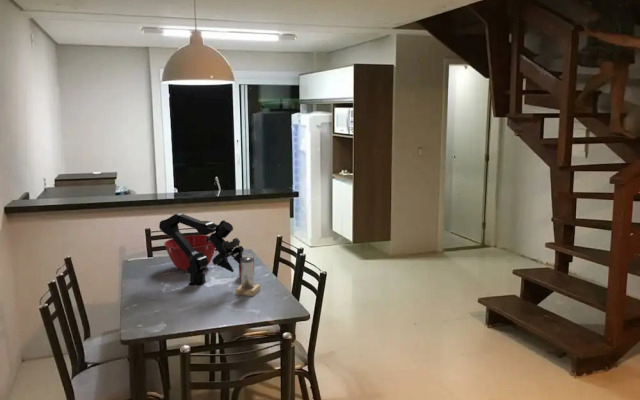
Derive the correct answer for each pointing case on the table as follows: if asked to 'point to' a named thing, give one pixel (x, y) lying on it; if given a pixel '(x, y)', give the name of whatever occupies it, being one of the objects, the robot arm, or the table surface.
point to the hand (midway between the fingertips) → (238, 268)
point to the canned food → (240, 265)
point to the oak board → (247, 290)
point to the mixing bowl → (196, 242)
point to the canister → (247, 272)
